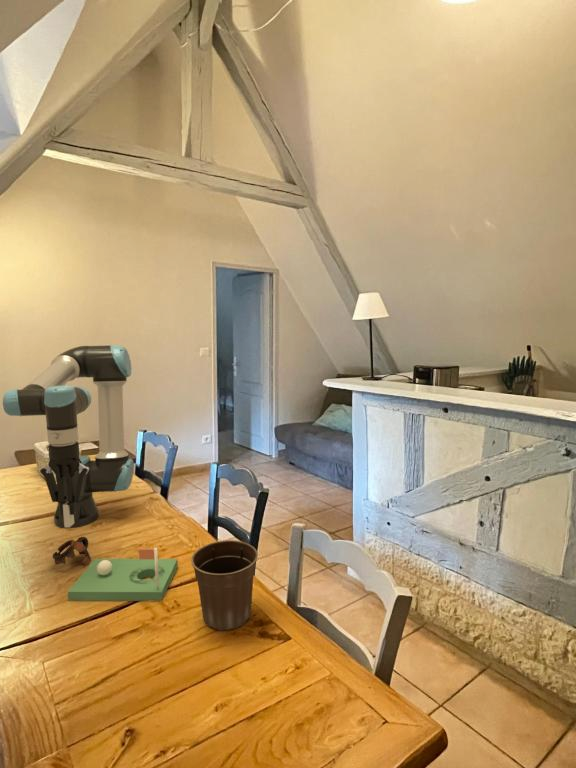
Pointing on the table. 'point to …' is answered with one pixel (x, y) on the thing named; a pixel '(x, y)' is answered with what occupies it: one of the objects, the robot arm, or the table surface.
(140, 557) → the flag pin
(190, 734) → the table surface
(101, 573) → the ball
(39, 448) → the storage basket
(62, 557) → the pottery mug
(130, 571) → the green
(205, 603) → the plant pot
